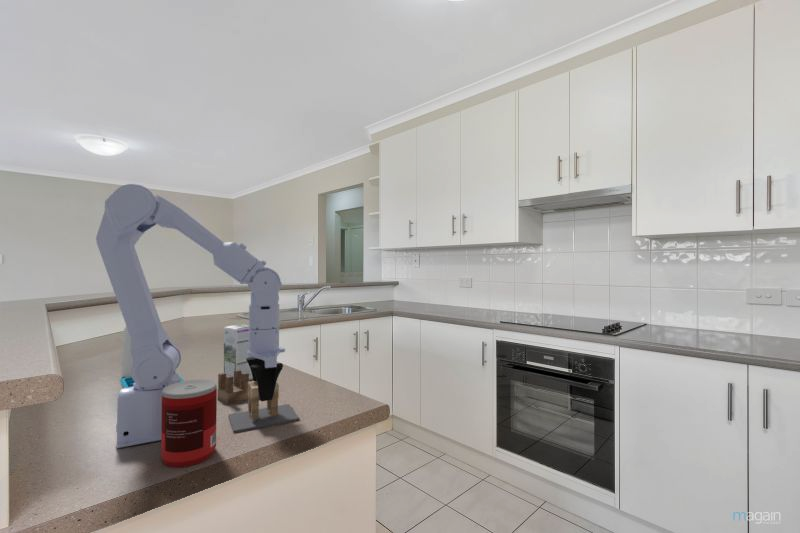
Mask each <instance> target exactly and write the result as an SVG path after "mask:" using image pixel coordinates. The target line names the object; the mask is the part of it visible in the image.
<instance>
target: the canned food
mask: <svg viewBox="0 0 800 533" xmlns="http://www.w3.org/2000/svg"><path fill="white" fill-rule="evenodd" d="M217 401H218V387H217V383H216V382H215V381H213V380H211V379H189V380H184V381H183V382H178V383H174V384H172V385H169V386H167V387H165V388H164V389H163V391H162V432H161V440H160V441H161V442H160V443H161V445H160V447H161V448H160V449H161V455H160V457H161V459H162V462H163V464H164V465H165V466H167V467H172V468H185V467H190V466H194V465H199V463H202V462H204V461H206V460H208V459H209V458H211V457H212V456H213V454H214V453H215V451H216V446H217V409H218V408H217V405H218V404H217Z"/></svg>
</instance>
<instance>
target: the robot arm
mask: <svg viewBox="0 0 800 533" xmlns="http://www.w3.org/2000/svg"><path fill="white" fill-rule="evenodd" d="M157 225H158V226H159V227H161V228H166V229H174V230H177V231H178V232H180V233H181V234H183V235H184V236H185V237H186V238H189V240H191V241H193V242H194V243H196V244H197V245H198V246H200V247H201V248H203V249H204V250H206V251H207V252H209V253H210V254H212V256H213V257H212V258H213V265H214V266H215V267H217V268H218V269H220V270H221V271H222V272H224V273H225V274H227V276H229V277H231V278H232V279H234V280H235V281H236V282H238V283H239V284H241V285H244V284H246V285H247V287H248V289H249V290H250V304H249V306H248V325H249V350H248V356H251V357H250V358H246V360H247V362H248V364H249V366H250V369H251V372H252V377H253V379H252V381H257V384H258V391H259V397H260V402H267V401H268V400H272V398H273V395H274V390H275V385H276V382H277V381H278V378H279V376H280V373H281V371H282V370H283V367H284V364H283V363H282V362H278V360H277V359H278V357H279V355H280V354H281V353H285V352H286V348H285V347H284V346H282V347H281V346H280V304H279V301H280V296H279V292H280V290H281V289H282V284H283V283H282V281H281V278H280V275H279V274H278V272H276V271H275V270H273V269H272V268H270V267H265V266H266V265H267V262H266V261H265V260H263V259H261V260H259V259H258V258H257V257H256V256H254V255H253V254H252V253H250V252H249V251H247V246H246V245H245V244H244V243H242V242H241V243H240V244H238V243H237V242H236V241H227V242H225V241H222V239H220V238H219V237H218V236H216V235H215V234H214V233H212V232H211V231H210V229H207V228H206V227H205V226H203V225H202V224H201V223H199V222H198V221H197V220H196V219H195V218H193V217H192V216H191V215H190V214H188V213H187V212H185V210H183V209H182V208H180V207H179V206H177V205H175V204H174V203H172V202H170V201H169V200H167V199H166V198H163V197H162V196H161V195H158V194H156V196H155V195H154V194H153V192H152V191H151V190H150V189H149V188H148V187H145V186H143V185H141V184H136V183H129V184H124V185H122V186H121V185H120V186H119V187H118V188H117V189H116V190H114V191H113V193H111V194H110V195H109V197H108V198H107V199H105V201H104V213H103V215H102V218H101V222H100V225H99V228H98V231H97V234H96V237H95V240H96V245H97V248H98V252H99V253H100V255H101V258H102V259H101V260H102V262H103V264H104V267H105V270H106V274H107V275H108V278H109V281H110V284H111V287H112V289H113V293H114V295H115V298H116V300H117V304H118V307H119V309H120V312H121V315H122V318H123V320H124V323H125V326H127V329H128V332H129V335H130V337H131V343H130V353H131V356H132V359H133V363H132V368H131V376H132V379H133V380H134V382H135V383H133V387H129V388H123V387H122V388H120V389H119V392H118V396H117V404H116V405H117V408H116V426H115V427H116V445H115V447H116V448H117V449H121V448H125V447H130V446H131V447H132V446H136V445H141V444H146V443H152V442H158V441H161V432H162V391H163V389H164V388H165V387H167V386H169V385H172V384H174V383H178V382H181V378H182V377H181V376H180V375H179V374H178V373H177V372H176V370H177V368H178V367H179V365H180V363H181V362H182V353H181V351H180V349H179V348H178V347H177V346H176V345H175V344H173V343H172V341H171V339H170V337H169V334H168V333H167V331H166V330H165V328H164V327H163V325H162V322H161V319H160V315H159V313H158V310H157V308H156V305H155V303H154V298H153V296H152V293H151V291H150V288H149V285H148V281H147V278H146V276H145V273H144V270H143V267H142V265H141V261H140V259H139V255H138V253H137V251H136V247H135V246H136V244H137V243H138V241H139V240H140V239H141V238H142V236H143V235H144V234H145V233H146V231H148V230H150V229H152V228H153V227H155V226H157ZM177 374H178V375H179V376H180V377H181V378H180V377H179V376H178V375H177Z"/></svg>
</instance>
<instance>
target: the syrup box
mask: <svg viewBox="0 0 800 533" xmlns="http://www.w3.org/2000/svg"><path fill="white" fill-rule="evenodd" d="M248 350H249V324H248V325H247V324H232V325H228V326H224V327H223V373H226V376H233V383H234V370H241V373H245V372H247V373H249V381H250V380H253V377H252V372H251V369H250V366H249V364H248V362H247V360H246V358H250V357H251V356H248Z"/></svg>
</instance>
